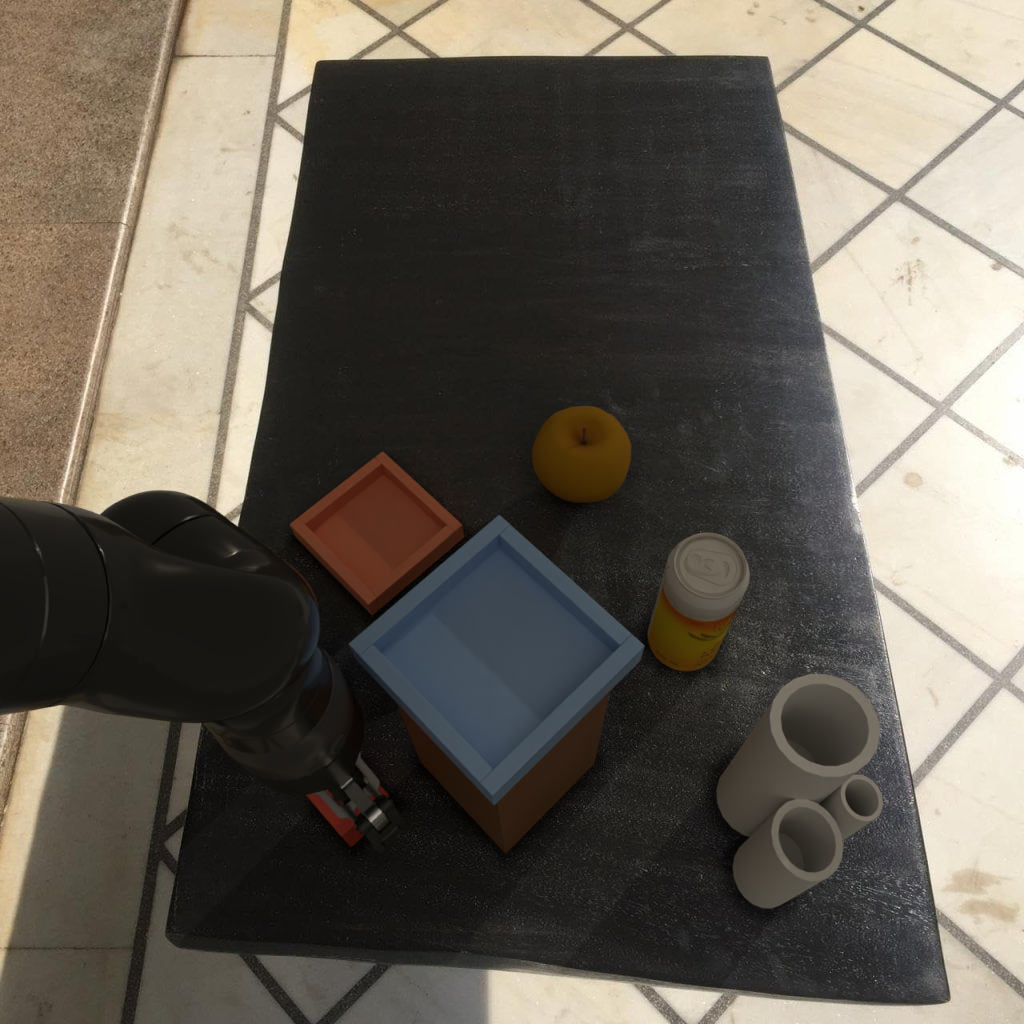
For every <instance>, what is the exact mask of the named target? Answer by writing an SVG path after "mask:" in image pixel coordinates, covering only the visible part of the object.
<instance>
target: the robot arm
mask: <svg viewBox="0 0 1024 1024" xmlns="http://www.w3.org/2000/svg"><path fill="white" fill-rule="evenodd" d="M320 633H321V614H320V607H319V603H318V601H317V597H316V595H315V592H314V590H313V589H312V587H311V586H310V584H309V583H308V581H307V580H306V578H305V577H304V576H303V575H302V574H301V573H300V572H299V571H298V570H297V569H296V568H294V567H293V566H292V565H291V564H289V562H287V561H286V560H285V559H283V558H281V557H280V556H279V555H278V554H276V553H275V552H274V551H272V550H271V549H270V548H268V547H267V546H265V545H264V544H263V543H262V542H260V541H259V540H257V539H256V538H254V537H253V536H251V535H250V534H249V533H248V532H246V531H244V530H243V529H242V528H241V527H239V526H238V525H236V524H235V523H234V522H232V521H231V520H229V518H228V517H226V516H225V515H223V514H222V513H221V512H219V511H218V509H216V508H214V507H213V506H211V505H209V504H208V503H207V502H206V501H204V500H202V499H200V498H197V497H195V496H193V495H191V494H188V493H185V492H181V491H177V490H166V489H165V490H164V489H153V490H152V489H151V490H146V491H141V492H137V493H134V494H131V495H128V496H126V497H124V498H122V499H120V500H117V501H115V502H114V503H112V504H111V505H110V506H107V508H105V509H104V510H103V511H102V512H100V513H97V512H95V511H91V510H89V509H86V508H84V507H83V508H82V507H79V506H74V505H71V504H67V503H61V502H54V501H48V500H37V499H30V498H21V497H14V496H13V497H11V496H2V495H0V716H6V715H13V714H17V713H18V714H20V713H25V712H32V711H37V710H43V709H48V708H55V707H59V706H66V707H70V708H76V709H77V708H78V709H83V710H87V711H91V712H96V713H101V714H106V715H113V716H123V717H128V718H129V717H130V718H137V719H145V720H153V721H161V722H170V723H182V724H201V725H203V726H204V727H205V729H207V730H208V731H209V732H210V733H212V735H213V736H215V739H216V740H217V742H218V744H219V745H220V747H221V749H222V750H224V751H225V753H227V754H228V755H229V756H230V758H232V759H233V760H234V761H235V762H236V763H237V764H239V766H241V767H242V768H243V769H244V770H245V771H246V772H247V773H249V775H251V776H252V777H253V778H254V779H255V780H257V781H258V782H259V783H260V784H261V785H263V786H264V787H265V788H267V789H269V790H271V791H272V792H276V793H278V794H282V795H286V796H306V795H308V794H313V795H319V796H320V797H321V798H322V799H323V800H324V801H325V802H326V804H327V805H328V806H329V807H330V808H331V809H332V810H333V812H334V813H335V814H336V815H337V816H338V817H339V818H341V819H344V818H347V817H349V818H351V820H352V821H353V822H354V824H355V825H356V826H354V827H355V829H356V830H357V831H358V832H359V833H360V834H361V833H363V834H364V836H365V838H366V839H367V840H368V841H369V842H370V843H371V844H370V847H371V848H372V849H373V850H374V851H375V852H377V851H378V852H379V853H380V854H382V853H383V852H384V851H385V850H386V849H387V848H388V846H389V845H391V843H392V842H394V841H395V840H396V839H397V838H398V837H399V836H400V835H401V834H402V833H403V832H405V831H406V830H407V829H408V828H409V824H408V823H407V820H408V819H406V818H405V817H404V816H403V815H401V813H400V811H399V810H398V808H396V805H395V804H394V803H395V801H394V800H393V799H392V798H391V797H390V796H389V797H388V798H387V797H386V796H385V795H384V794H382V793H381V794H380V793H379V792H378V788H379V785H381V782H380V779H379V778H378V776H376V774H375V773H374V772H373V771H372V769H371V768H370V767H369V765H368V764H366V762H365V761H364V760H363V759H362V752H361V750H362V746H363V743H364V739H365V718H364V714H363V713H364V712H363V711H362V708H361V705H360V703H359V701H358V699H357V697H356V695H355V694H354V692H353V689H352V688H351V687H350V685H349V683H348V681H347V679H346V678H345V676H344V674H343V672H342V671H341V668H340V667H339V666H338V664H337V663H336V661H335V660H334V659H333V657H332V656H331V655H330V654H329V652H327V651H326V649H324V648H323V647H322V645H321V643H320V642H319V639H320ZM326 790H328V791H329V792H330V793H331V794H332V796H333V797H332V796H331V795H330V794H329V793H328V792H327V791H326ZM369 796H372V797H373V798H374V799H375V800H373V801H372V800H371V799H370V797H369ZM393 804H394V805H395V806H394V805H393ZM357 807H358V809H359V810H360V811H361V813H360V814H358V815H357V814H356V813H355V809H356V808H357Z"/></svg>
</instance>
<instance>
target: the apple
mask: <svg viewBox="0 0 1024 1024" xmlns="http://www.w3.org/2000/svg"><path fill="white" fill-rule="evenodd" d="M531 460H532V466H533V470H534V473H535V475H536V476H537V478H538V479H539V481H540V483H541V484H542V485H543V487H544V488H546V489H547V490H548V491H549V492H550V493H552V494H553V495H554V496H555V497H558V498H559V499H561V500H564V501H567V502H570V503H577V504H583V503H584V504H591V503H596V502H601V501H604V500H608V499H609V498H611V497H612V496H614V495H615V494H616V493H617V492H618V491H619V489H620V488H621V487H622V485H623V483H624V482H625V481H626V478H627V474H628V471H629V468H630V466H631V465H630V464H631V461H632V442H631V440H630V438H629V435H628V433H627V432H626V430H625V429H624V426H623V425H622V424H621V423H620V421H618V419H617V418H616V417H615V416H614V415H612V414H611V413H609V412H607V411H605V410H603V409H602V408H600V407H597V406H589V405H578V406H577V405H576V406H570V407H567V408H565V409H561V410H559V411H556V412H554V413H553V414H552V415H551V416H550V417H549V418H548V419H546V420H545V421H544V423H543V424H542V425H541V427H540V428H539V431H538V433H537V435H536V437H535V439H534V443H533V446H532V449H531Z"/></svg>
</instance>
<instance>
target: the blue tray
mask: <svg viewBox="0 0 1024 1024" xmlns="http://www.w3.org/2000/svg"><path fill="white" fill-rule="evenodd" d="M348 647H349V649H350V651H351V653H352V655H353V658H354V659H355V660H356V661H357V663H358V664H360V665H361V667H362V668H363V669H364V670H365V671H366V672H367V673H368V674H369V675H370V676H371V677H372V678H373V679H374V680H375V681H376V683H377V684H378V685H379V686H380V687H381V688H382V689H383V690H384V691H385V692H386V693H387V694H388V695H389V696H390V697H391V698H392V699H393V701H394V702H395V703H396V705H397V707H398V710H399V712H400V715H401V717H402V719H403V722H404V725H405V727H406V730H407V733H408V735H409V736H410V739H411V742H412V744H413V747H414V749H415V752H416V755H417V757H418V759H419V762H420V764H421V765H423V767H424V768H425V769H426V770H427V771H428V772H429V773H430V774H431V775H432V776H433V778H434V779H435V780H436V781H437V782H438V783H439V784H440V785H441V787H443V788H444V789H445V790H446V791H447V793H448V794H449V795H450V796H451V797H452V798H453V799H454V800H455V801H456V802H457V803H458V804H459V805H460V807H461V808H462V809H463V810H464V811H465V812H466V813H467V814H468V815H469V816H470V817H471V818H472V820H474V822H475V823H476V824H477V825H478V826H479V827H480V828H481V829H482V831H484V832H485V834H486V835H488V837H489V838H490V839H491V840H492V841H493V842H494V844H496V845H497V846H498V848H500V850H501V851H502V852H503V853H504V854H507V853H508V852H509V851H510V850H511V849H512V848H513V847H514V846H515V845H516V844H517V843H518V842H519V841H520V840H521V839H522V838H523V837H524V836H525V835H526V834H527V833H528V832H529V831H530V830H531V829H532V828H533V827H534V826H535V825H536V824H537V823H538V822H539V821H540V820H541V819H542V818H543V817H544V815H546V814H547V813H548V812H549V810H551V808H552V807H554V805H556V803H557V802H559V801H560V800H561V798H562V797H563V796H564V795H565V794H566V793H567V792H568V791H570V789H571V788H572V787H573V786H574V785H575V784H576V783H577V782H578V781H579V780H580V779H581V778H582V777H583V776H584V775H585V774H586V773H587V772H588V771H589V770H590V769H591V768H592V767H593V766H594V765H595V763H596V758H597V753H598V749H599V744H600V739H601V734H602V729H603V725H604V720H605V716H606V713H607V712H606V711H607V706H608V701H609V696H610V693H611V691H612V690H613V689H614V688H615V686H617V685H618V684H619V683H620V682H621V681H622V680H623V679H624V677H626V676H627V675H628V674H629V673H630V672H631V671H632V670H633V669H634V668H635V667H636V666H637V665H638V664H639V663H640V662H641V660H642V656H643V653H644V649H645V645H644V644H643V643H642V642H641V641H640V640H639V639H638V638H637V637H636V636H634V635H633V634H632V633H631V632H630V630H628V629H627V628H626V627H624V626H623V625H622V624H621V623H620V622H619V621H618V620H617V619H616V618H615V617H613V616H612V615H611V614H610V613H609V612H608V611H607V610H605V608H603V607H602V606H601V605H600V603H598V602H596V600H595V599H594V598H593V597H591V596H590V595H589V594H588V593H586V591H584V590H583V589H582V588H581V587H580V586H579V585H578V584H577V583H576V582H575V581H574V580H572V579H571V578H570V577H569V576H568V575H567V574H566V573H564V572H563V571H562V570H561V568H559V567H558V566H556V565H555V563H553V561H551V560H550V559H549V558H548V557H547V556H546V555H544V554H543V553H542V552H541V551H540V550H539V549H538V548H537V547H535V546H534V545H533V544H532V543H531V542H530V541H529V540H528V539H527V538H526V537H525V536H523V535H522V534H521V533H520V532H519V531H518V530H517V529H516V528H514V527H513V525H511V524H510V523H509V522H508V521H507V520H505V518H503V517H502V516H501V515H500V514H498V515H497V516H496V517H494V518H493V520H491V521H490V522H489V523H488V524H486V526H483V528H482V529H480V530H479V531H478V532H477V533H476V534H475V535H474V536H473V537H471V538H470V539H469V540H468V541H467V542H465V543H464V544H463V545H461V547H460V548H458V549H457V550H456V551H454V553H453V554H451V555H450V556H449V557H448V558H447V559H446V560H445V561H443V562H442V563H441V564H440V565H438V567H436V568H435V569H434V570H433V571H431V572H430V573H429V574H428V575H427V576H426V577H425V578H423V579H422V580H421V581H420V582H419V583H418V584H416V585H415V586H414V587H413V588H412V589H411V590H409V591H408V592H407V593H405V595H403V597H401V598H400V599H399V600H397V601H396V602H395V603H394V604H393V605H392V606H391V607H390V608H388V609H387V610H386V611H385V612H384V613H383V614H381V615H380V616H379V617H378V618H377V619H376V620H374V621H373V622H372V623H371V624H369V626H367V627H366V628H365V629H364V630H363V631H361V632H360V633H359V634H358V635H357V636H356V637H354V638H353V639H352V640H351V641H350V642H349V643H348Z"/></svg>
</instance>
